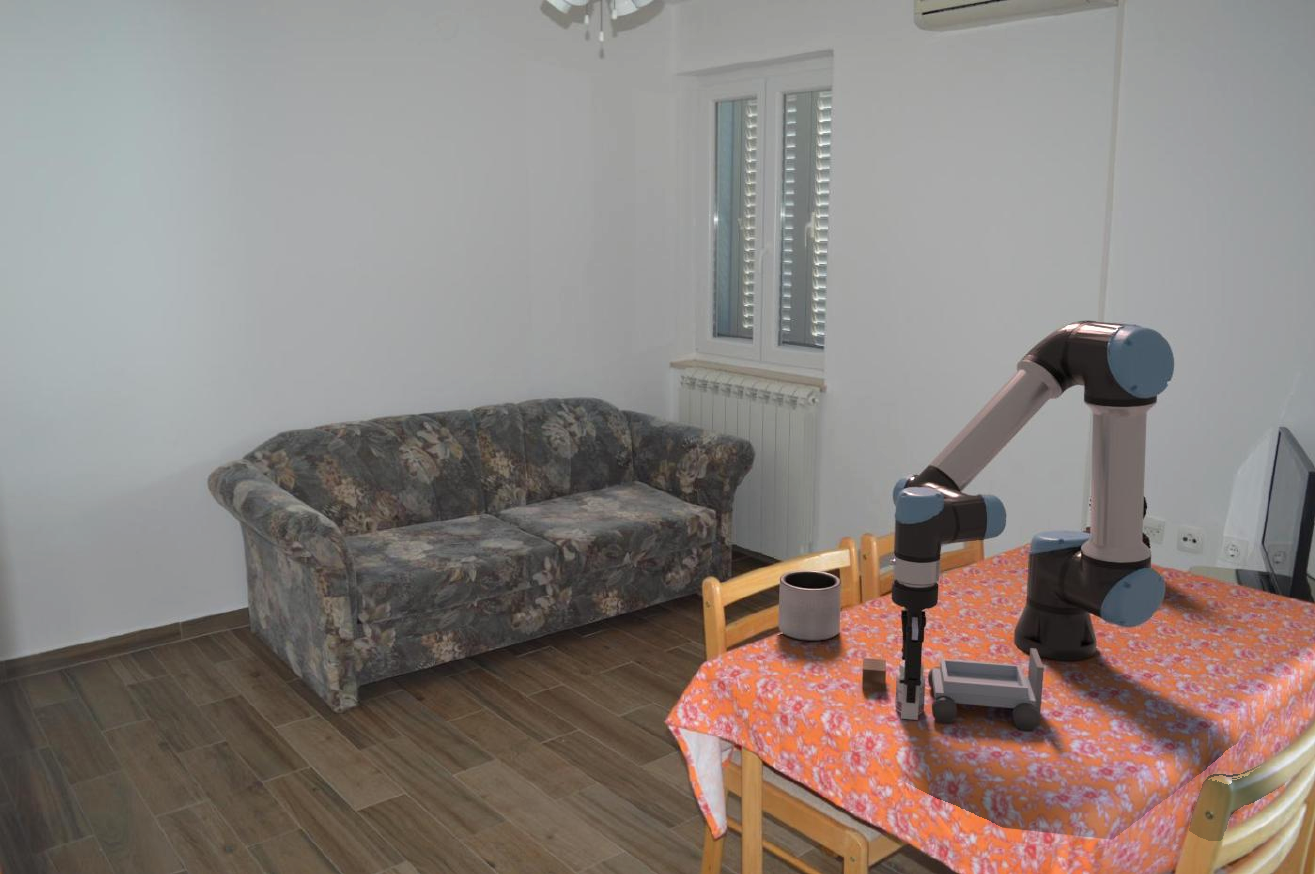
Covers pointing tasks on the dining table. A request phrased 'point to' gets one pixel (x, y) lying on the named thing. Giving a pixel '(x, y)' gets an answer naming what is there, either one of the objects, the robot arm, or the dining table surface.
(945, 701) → the trolley
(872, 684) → the block
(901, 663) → the pill bottle
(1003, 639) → the dining table surface
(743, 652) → the dining table surface
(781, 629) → the planter
